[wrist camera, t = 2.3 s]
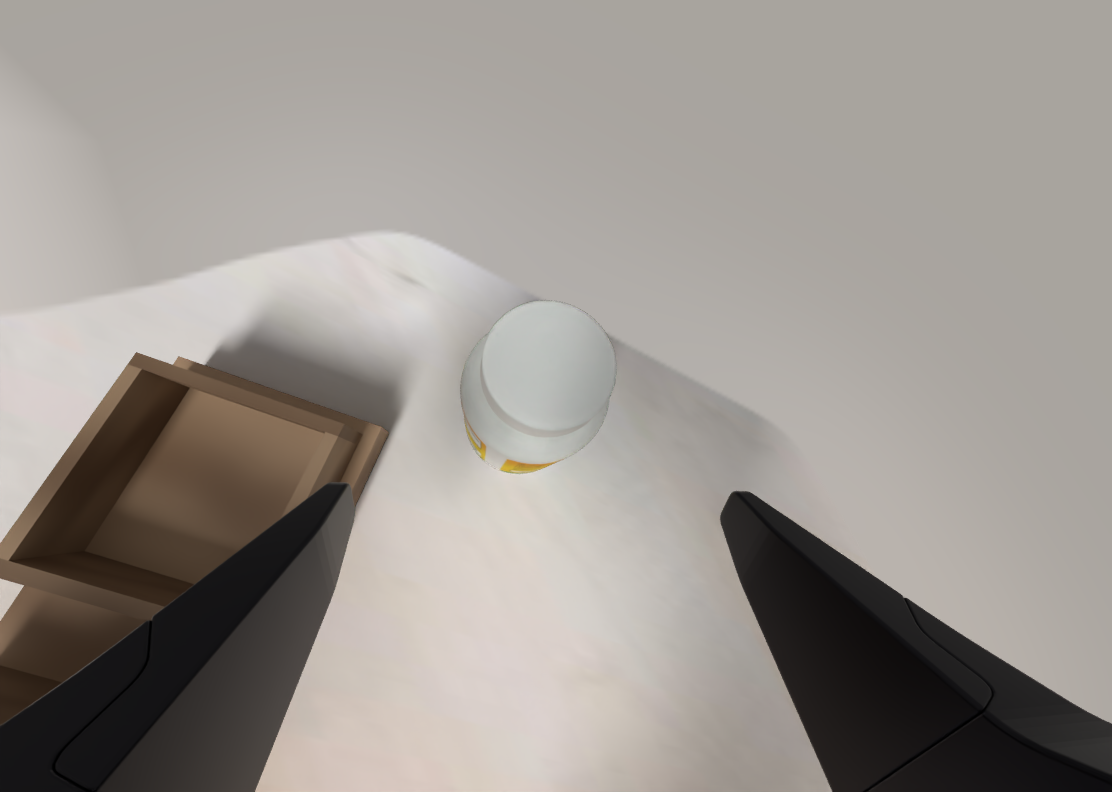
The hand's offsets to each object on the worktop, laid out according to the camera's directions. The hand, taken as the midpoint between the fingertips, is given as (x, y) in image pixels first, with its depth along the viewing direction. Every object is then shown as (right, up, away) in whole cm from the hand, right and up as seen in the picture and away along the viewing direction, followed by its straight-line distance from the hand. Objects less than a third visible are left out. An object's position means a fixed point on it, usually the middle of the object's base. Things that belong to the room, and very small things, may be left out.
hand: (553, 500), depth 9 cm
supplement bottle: (-2, +1, +11) cm, 12 cm away
